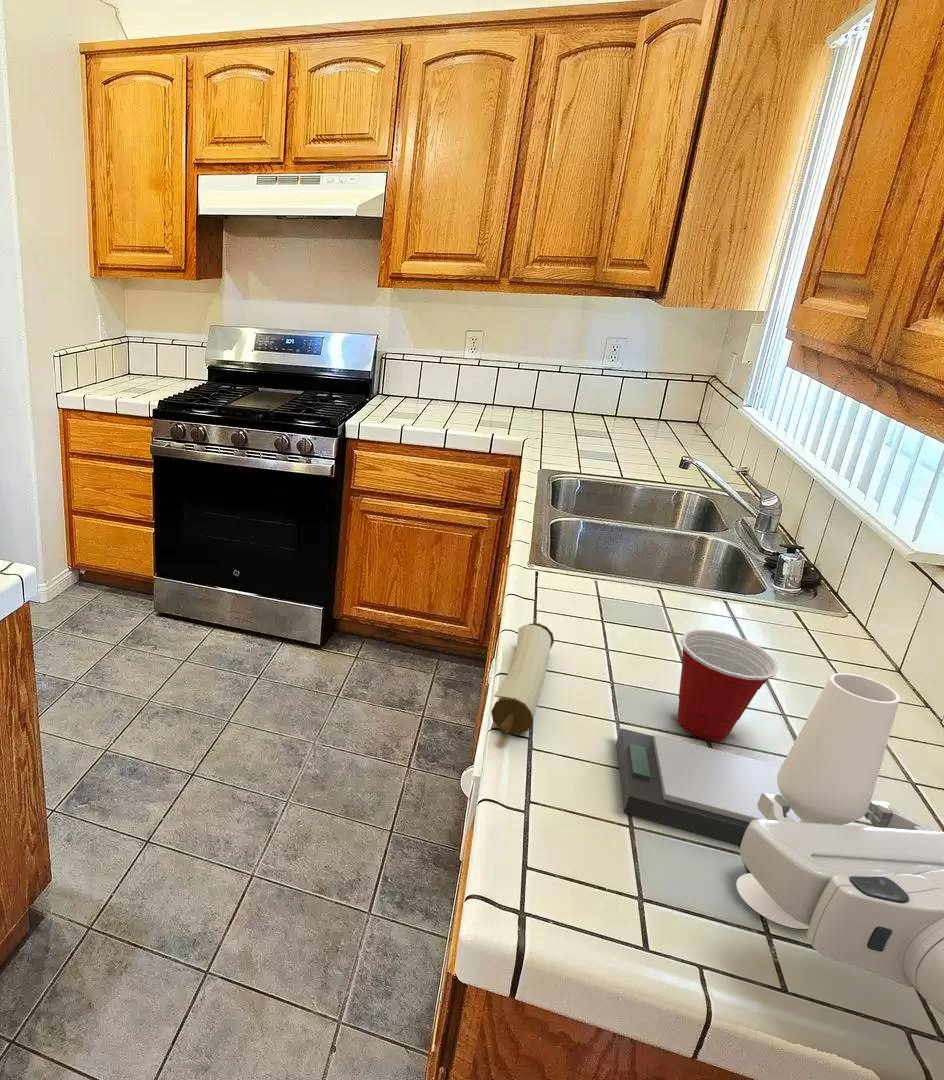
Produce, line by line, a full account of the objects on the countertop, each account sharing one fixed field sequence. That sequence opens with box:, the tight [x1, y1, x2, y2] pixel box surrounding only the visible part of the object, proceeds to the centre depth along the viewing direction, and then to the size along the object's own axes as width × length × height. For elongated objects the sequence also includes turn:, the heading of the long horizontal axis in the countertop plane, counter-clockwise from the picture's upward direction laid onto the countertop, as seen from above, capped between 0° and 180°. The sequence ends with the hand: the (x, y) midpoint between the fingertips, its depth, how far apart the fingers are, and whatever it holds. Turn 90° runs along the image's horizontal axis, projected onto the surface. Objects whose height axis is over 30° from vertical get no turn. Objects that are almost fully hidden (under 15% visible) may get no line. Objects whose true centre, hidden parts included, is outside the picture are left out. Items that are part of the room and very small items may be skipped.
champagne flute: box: [735, 672, 901, 930], centre depth 69 cm, size 7×7×24 cm
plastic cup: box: [677, 628, 780, 741], centre depth 97 cm, size 11×11×12 cm
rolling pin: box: [490, 622, 555, 735], centre depth 106 cm, size 32×6×5 cm, turn 151°
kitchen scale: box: [616, 727, 801, 846], centre depth 86 cm, size 18×14×3 cm
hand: (820, 803), depth 68 cm, fingers open, 8 cm apart
